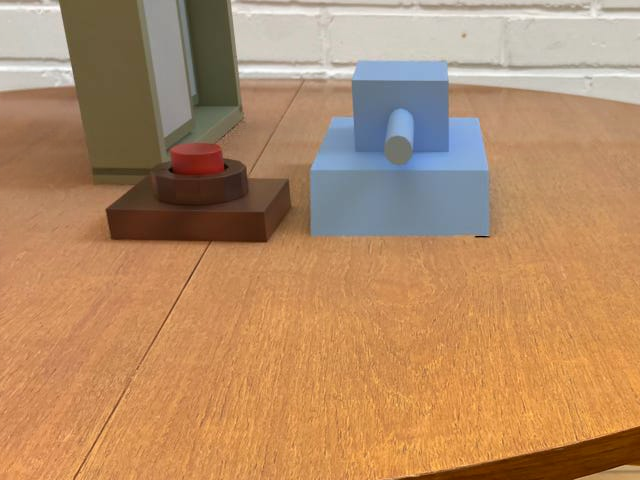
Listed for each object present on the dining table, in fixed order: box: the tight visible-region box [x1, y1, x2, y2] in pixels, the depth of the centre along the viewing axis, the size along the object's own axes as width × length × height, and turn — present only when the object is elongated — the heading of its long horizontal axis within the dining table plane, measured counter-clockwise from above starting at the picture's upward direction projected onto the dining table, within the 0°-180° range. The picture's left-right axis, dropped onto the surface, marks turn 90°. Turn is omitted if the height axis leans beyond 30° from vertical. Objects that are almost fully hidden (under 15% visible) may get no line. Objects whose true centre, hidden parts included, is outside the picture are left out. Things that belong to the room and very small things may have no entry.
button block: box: [105, 157, 292, 243], centre depth 70 cm, size 11×9×4 cm
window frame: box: [58, 0, 244, 186], centre depth 87 cm, size 6×28×18 cm, turn 179°
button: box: [170, 143, 225, 175], centre depth 69 cm, size 4×4×2 cm
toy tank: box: [309, 60, 491, 237], centre depth 76 cm, size 22×9×13 cm
